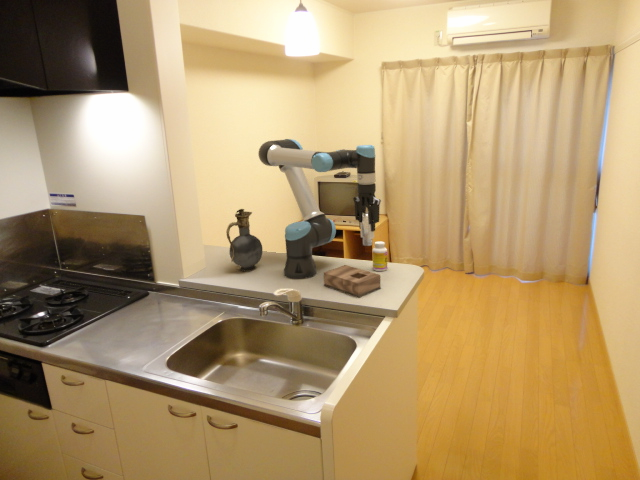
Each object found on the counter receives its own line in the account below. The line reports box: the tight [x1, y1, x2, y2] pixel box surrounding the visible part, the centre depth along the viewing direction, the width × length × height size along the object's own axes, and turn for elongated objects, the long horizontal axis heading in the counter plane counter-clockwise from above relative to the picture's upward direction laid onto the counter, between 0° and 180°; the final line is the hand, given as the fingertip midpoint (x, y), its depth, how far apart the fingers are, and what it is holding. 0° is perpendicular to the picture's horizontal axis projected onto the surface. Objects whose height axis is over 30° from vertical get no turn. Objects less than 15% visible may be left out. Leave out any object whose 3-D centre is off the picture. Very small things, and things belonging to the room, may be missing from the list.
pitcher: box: [226, 208, 263, 272], centre depth 214 cm, size 11×19×30 cm, turn 146°
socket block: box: [323, 264, 382, 298], centre depth 188 cm, size 20×13×6 cm, turn 42°
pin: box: [362, 211, 373, 247], centre depth 193 cm, size 4×4×14 cm
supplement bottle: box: [372, 240, 388, 272], centre depth 208 cm, size 7×7×13 cm
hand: (367, 237), depth 194 cm, fingers closed on pin, 4 cm apart
